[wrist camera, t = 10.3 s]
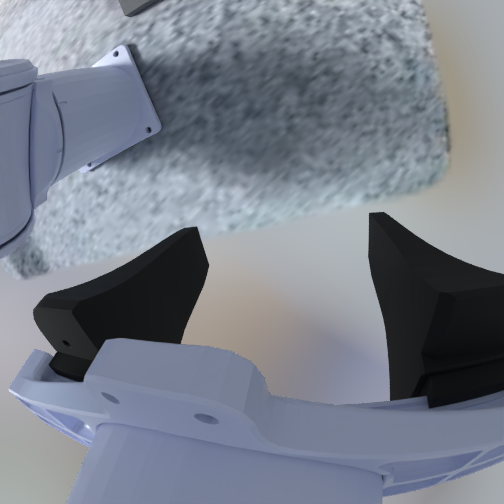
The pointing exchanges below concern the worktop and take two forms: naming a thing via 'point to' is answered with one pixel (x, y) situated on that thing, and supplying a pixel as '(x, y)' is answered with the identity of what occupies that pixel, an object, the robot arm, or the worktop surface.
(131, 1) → the post base
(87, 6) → the worktop surface
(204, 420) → the robot arm
